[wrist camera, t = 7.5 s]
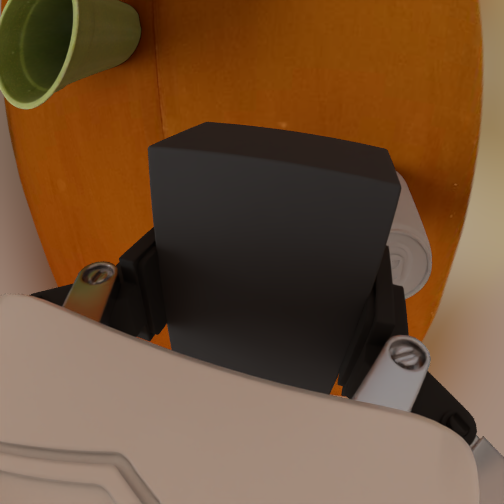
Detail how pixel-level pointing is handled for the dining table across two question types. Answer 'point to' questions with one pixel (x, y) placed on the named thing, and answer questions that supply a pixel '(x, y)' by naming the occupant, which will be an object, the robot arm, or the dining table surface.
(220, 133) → the pad
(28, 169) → the dining table surface
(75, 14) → the plant pot
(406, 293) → the beverage can
